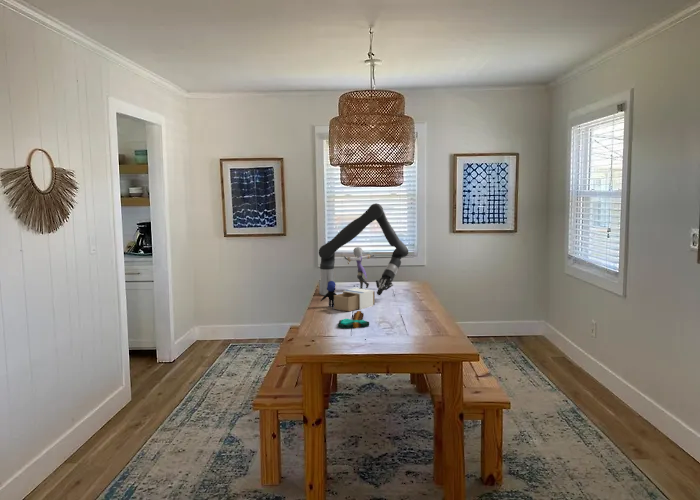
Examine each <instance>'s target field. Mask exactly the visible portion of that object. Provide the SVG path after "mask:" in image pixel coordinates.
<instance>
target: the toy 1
mask: <svg viewBox="0 0 700 500" xmlns="http://www.w3.org/2000/svg"><path fill="white" fill-rule="evenodd" d="M327 285H328V286H327V290H328V293H327V294H325V295H323V297H322V298H321V300H320V302H322V301H324V300H325V299H327V298H328V307H333V308H334V295H338V294H337V293H336V292H335V291H336V289H337V288H336V282H335V280H334V281H329V282H328V284H327Z"/></svg>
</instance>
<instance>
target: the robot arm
mask: <svg viewBox="0 0 700 500" xmlns="http://www.w3.org/2000/svg"><path fill="white" fill-rule="evenodd" d="M374 221H376V222H377V224H378V225H379V227H380V229H381V231H382V233H383V235H384V237H385V239H386V240H387V242H388V244H389V245H390V246H391V247H394V248H395V249H394V250H393V251H392V255H391V258H390V260H389V262H388V263H387V265H386V267H385V269H384V271H383V272H382V274H381V278H379V280H376V281H375V283H376V288H377V291H376V295H377V296H381V295H382V294H383V292H384V291H388V290H389V289H390V288H391V287H393V286H394V284H393V281H394V279H395V278H396V277H395V276H396V275H397V273H398V270H399V269H400V267H401V264H402V261H401V259H402V258H406V257H407V256H408V255H409V249H408V247H407V246H406V244H405V243H404V242H403V241H402V240H401V239H400V237H399V236H398V234H397V233H396V231H395V230H394V228H393V227H392V225H391V224H390V222H389V220H388V217H386V214H385V211H384V208H383V206H382V205H381V204H379V203H373V204H371V205H370V206H369V207H368V208H367V210H366V211H365V212H363V214H361V216H358V217H357V218H355V219H354V220H353V221H351V222H349V223H348V224H347V225H346V226H344V227H343V228H342V229H341V230H340V231H339V232H338V233H337V234H336V235H335V236H334V237H333V238H332V239H331V240H330V241H328V242H327V243H324V244H323V245H322V246H320V248H319V249H318V256H319V257H320V264H319V274H320V275H319V278H320V279H319V282H318V283H319V287H318V288H319V290H318V291H319V295H321V296H325V294H327V293H328V290H327V286H328V285H327V284H328V282H329V281H334V282H335V260H336V259H335V258H336V255H335V252H337V251H338V250H339V249H340V248H342V247H343V246H344V245H346V244H348V243H350V242H351V241H352V240H354V239H355V238H356V237H358V236H359V235H360V233H362V232H363V230H365V229H366V227H367V226H369V225H370V224H371V223H373V222H374Z"/></svg>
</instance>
